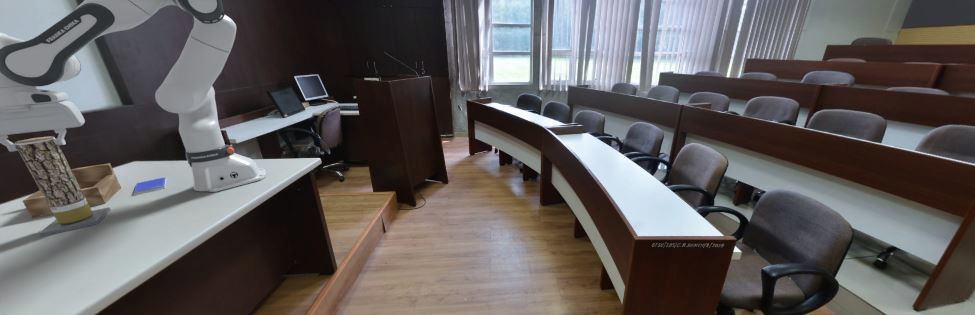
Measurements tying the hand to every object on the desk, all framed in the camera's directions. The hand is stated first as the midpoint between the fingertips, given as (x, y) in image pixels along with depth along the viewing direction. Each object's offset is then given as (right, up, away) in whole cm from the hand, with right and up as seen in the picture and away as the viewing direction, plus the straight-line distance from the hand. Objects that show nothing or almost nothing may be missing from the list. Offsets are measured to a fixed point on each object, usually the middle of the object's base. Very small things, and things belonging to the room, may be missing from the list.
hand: (39, 147), depth 90 cm
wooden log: (+1, -22, +8) cm, 23 cm away
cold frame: (-16, -18, +22) cm, 33 cm away
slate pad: (+1, -22, +8) cm, 24 cm away
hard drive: (-3, -15, +33) cm, 36 cm away
